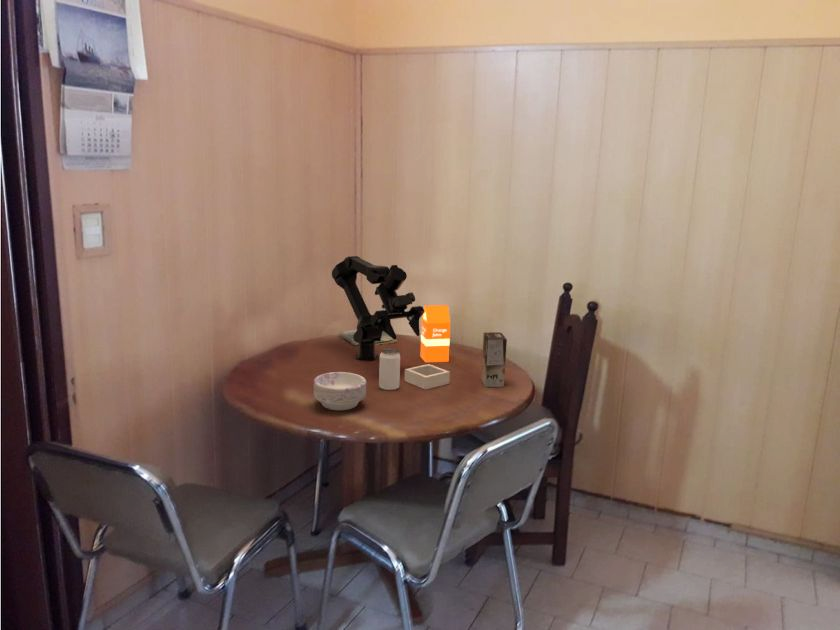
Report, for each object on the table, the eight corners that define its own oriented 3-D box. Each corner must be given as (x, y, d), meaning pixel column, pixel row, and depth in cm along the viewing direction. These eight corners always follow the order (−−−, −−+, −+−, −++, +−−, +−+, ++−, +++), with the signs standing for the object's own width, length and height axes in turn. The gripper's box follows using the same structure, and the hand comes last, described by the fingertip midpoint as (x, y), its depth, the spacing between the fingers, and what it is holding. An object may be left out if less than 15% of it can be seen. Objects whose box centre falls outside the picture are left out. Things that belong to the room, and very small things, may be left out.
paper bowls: (358, 417, 192) (359, 390, 191) (306, 412, 195) (306, 385, 193) (371, 398, 207) (371, 373, 205) (322, 394, 209) (322, 369, 208)
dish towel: (355, 348, 262) (356, 340, 261) (338, 337, 277) (338, 329, 276) (399, 344, 270) (399, 336, 270) (379, 333, 286) (380, 325, 285)
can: (396, 391, 214) (397, 354, 211) (376, 389, 215) (377, 352, 213) (401, 385, 220) (402, 349, 218) (381, 383, 222) (382, 347, 219)
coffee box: (504, 387, 222) (507, 339, 218) (484, 387, 221) (487, 339, 218) (498, 378, 231) (501, 332, 227) (480, 378, 230) (482, 331, 227)
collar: (404, 380, 225) (404, 369, 224) (428, 375, 231) (428, 363, 230) (425, 389, 217) (425, 377, 216) (449, 383, 224) (449, 371, 223)
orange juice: (448, 361, 248) (451, 307, 243) (425, 362, 245) (427, 307, 241) (442, 355, 255) (445, 302, 250) (419, 356, 253) (421, 303, 248)
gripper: (375, 286, 221) (393, 327, 215) (422, 282, 231) (441, 321, 225) (362, 306, 229) (379, 345, 223) (408, 300, 239) (426, 338, 233)
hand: (407, 337), depth 226 cm, fingers open, 9 cm apart
